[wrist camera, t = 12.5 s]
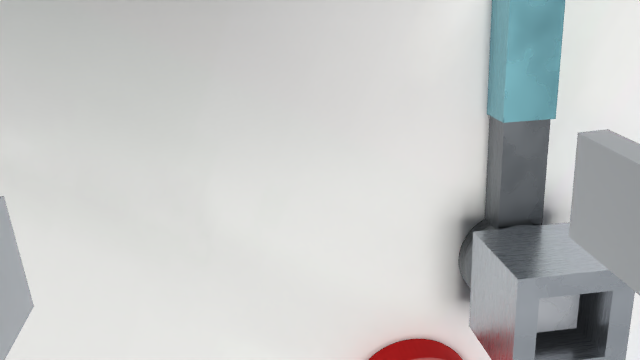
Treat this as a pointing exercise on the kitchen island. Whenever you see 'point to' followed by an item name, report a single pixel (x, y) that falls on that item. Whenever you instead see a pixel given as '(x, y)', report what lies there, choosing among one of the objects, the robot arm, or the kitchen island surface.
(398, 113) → the kitchen island surface
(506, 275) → the hollow square tube
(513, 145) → the ratchet
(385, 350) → the decorative ornament
